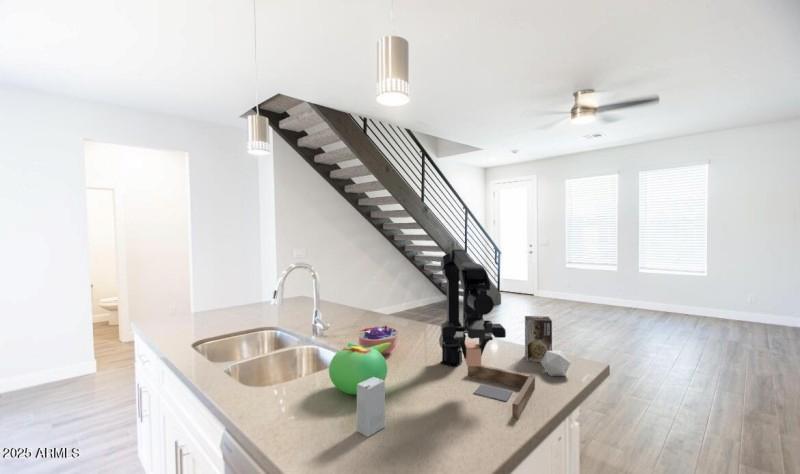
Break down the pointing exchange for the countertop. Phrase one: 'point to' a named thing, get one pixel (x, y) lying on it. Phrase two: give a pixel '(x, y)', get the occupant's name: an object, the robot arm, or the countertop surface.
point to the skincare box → (370, 406)
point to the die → (555, 363)
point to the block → (473, 354)
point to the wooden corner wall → (511, 379)
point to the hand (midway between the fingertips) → (472, 358)
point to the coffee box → (537, 337)
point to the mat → (493, 393)
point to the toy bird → (357, 366)
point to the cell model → (378, 337)
